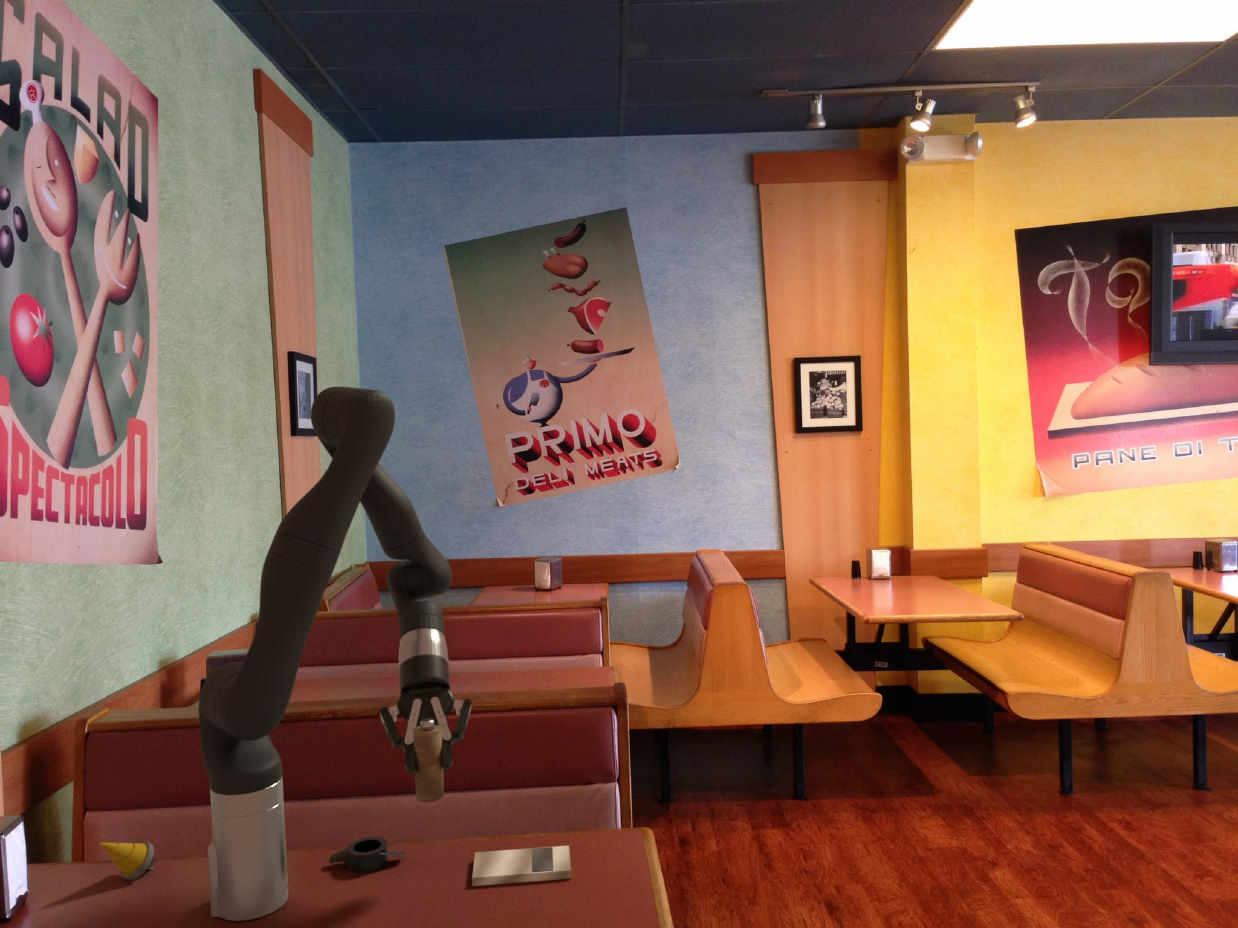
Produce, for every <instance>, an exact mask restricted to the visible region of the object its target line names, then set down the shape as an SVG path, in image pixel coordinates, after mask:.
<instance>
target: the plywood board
mask: <svg viewBox="0 0 1238 928" xmlns="http://www.w3.org/2000/svg"><path fill="white" fill-rule="evenodd" d="M473 859H474V861H473V869H472V876H471V881H472V882H471V885H472V887H478V886H481V887H482V886H490V885H505V884H517V883H531V882H543V881H554V880H555V881H556V880H568V879H572V867H571V865H572V863H571V856H570V845H559V846H545V847H543V846H542V847H531V848H519V849H503V850H490V851H479V852H478V851H477V852H475V853H474V858H473Z"/></svg>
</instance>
